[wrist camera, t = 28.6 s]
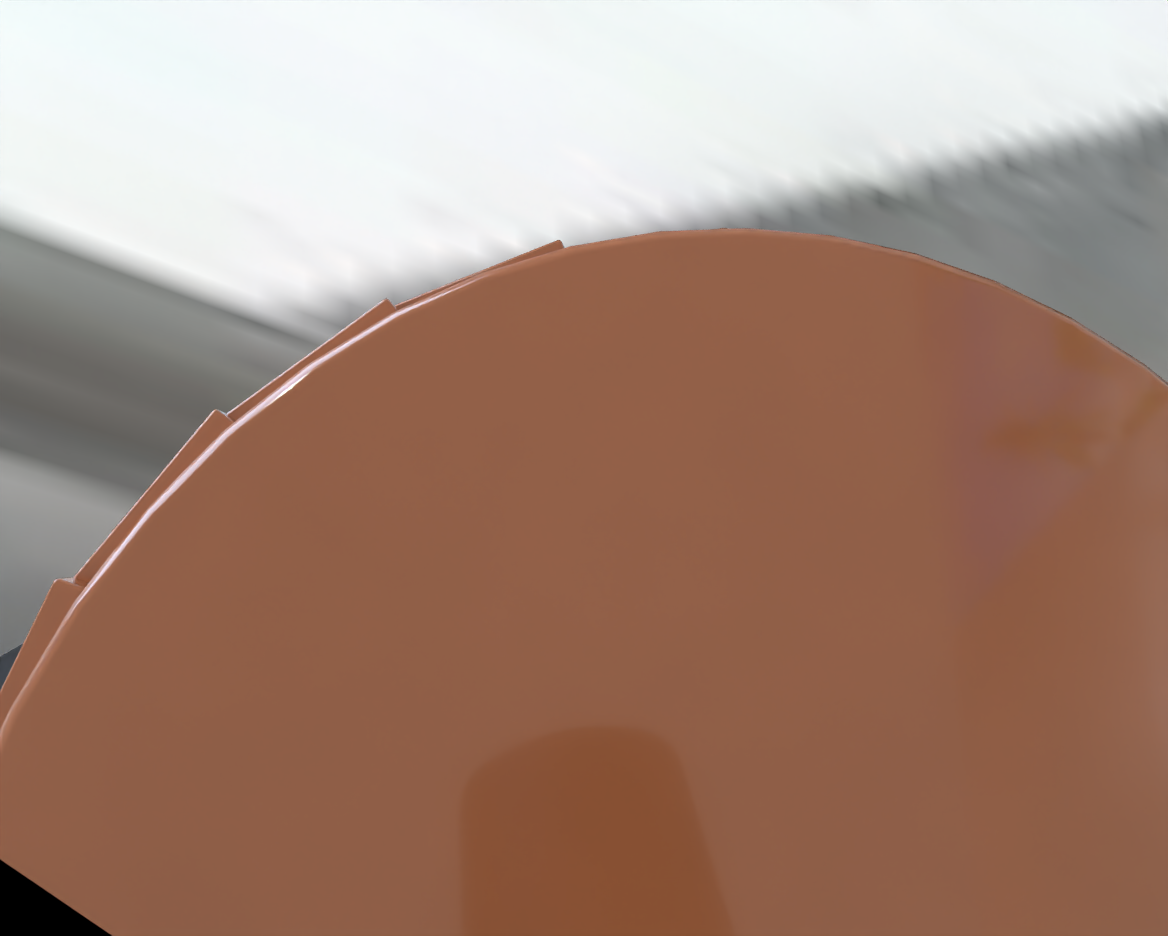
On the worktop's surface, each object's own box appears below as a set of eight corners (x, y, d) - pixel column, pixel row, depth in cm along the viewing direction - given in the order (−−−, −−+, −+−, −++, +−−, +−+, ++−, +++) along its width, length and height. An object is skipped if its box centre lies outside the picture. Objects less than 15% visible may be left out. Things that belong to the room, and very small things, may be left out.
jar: (724, 552, 16) (1637, 478, 3) (638, 815, 15) (1550, 2623, 2) (482, 458, 15) (322, -76, 3) (375, 720, 14) (-846, 2036, 1)
